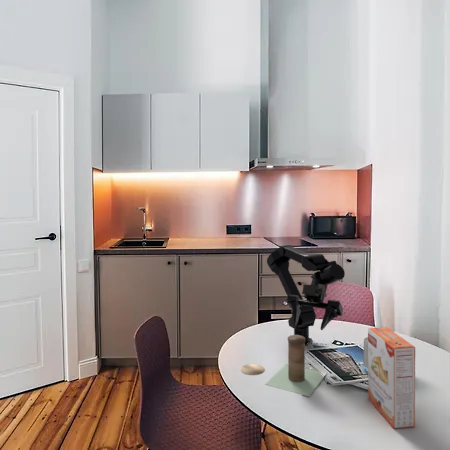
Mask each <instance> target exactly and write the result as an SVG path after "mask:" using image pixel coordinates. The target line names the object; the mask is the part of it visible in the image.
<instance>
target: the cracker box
mask: <svg viewBox="0 0 450 450" xmlns="http://www.w3.org/2000/svg"><path fill="white" fill-rule="evenodd" d="M367 336H368V372H367V374H368V376H367V377H368V383H367V384H368V386H367V387H368V397H367V398H368V399H367V400H369V401H370V402H371V404H372V405H373V406H374V407H375V409H377V411H378V412H379V413H380V415H382V416H383V418H384V419H385V420H386V422H387V423H388V424H389V426H391V427H392V429H393V430H395V429H403V428H404V429H405V428H414V427H416V425H415V424H416V423H415V422H416V416H415V415H416V346H415V345H413V344H412V343H410V342H409V341H407V340H406V339H405V338H403V336H400V335H398V334H397V333H396V332H394V330H392V329H391V328H390V327H387V326H383V327H370V328H367Z"/></svg>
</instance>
